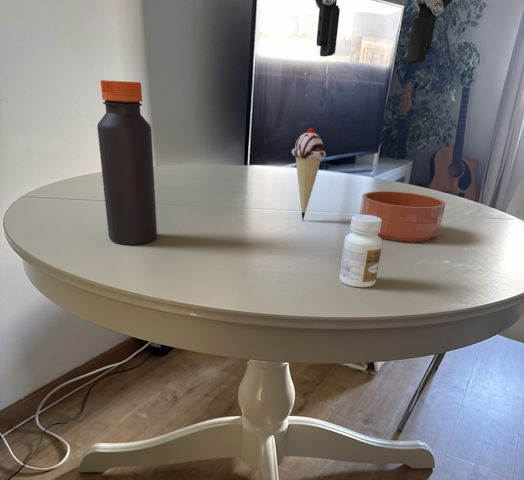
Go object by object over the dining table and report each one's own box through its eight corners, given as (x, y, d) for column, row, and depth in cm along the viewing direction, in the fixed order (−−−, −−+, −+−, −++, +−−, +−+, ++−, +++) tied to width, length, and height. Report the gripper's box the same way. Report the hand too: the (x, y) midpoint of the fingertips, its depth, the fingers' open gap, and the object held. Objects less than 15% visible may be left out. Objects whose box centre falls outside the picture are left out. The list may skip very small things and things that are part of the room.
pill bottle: (372, 290, 56) (383, 224, 52) (335, 284, 57) (344, 219, 53) (377, 279, 60) (388, 216, 56) (343, 273, 61) (351, 211, 57)
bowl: (426, 225, 87) (433, 193, 84) (447, 245, 75) (456, 210, 72) (353, 220, 87) (358, 189, 84) (363, 240, 75) (368, 204, 73)
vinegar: (146, 230, 74) (137, 82, 64) (164, 242, 69) (157, 83, 59) (102, 235, 70) (85, 79, 61) (118, 247, 65) (102, 80, 56)
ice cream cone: (314, 226, 82) (324, 130, 75) (282, 222, 83) (289, 127, 76) (321, 219, 86) (331, 128, 79) (291, 215, 88) (298, 125, 81)
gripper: (319, -214, 36) (299, 50, 45) (521, -177, 40) (467, 64, 48) (297, -169, 43) (282, 55, 51) (471, -140, 46) (431, 66, 54)
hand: (371, 59), depth 49 cm, fingers open, 9 cm apart
